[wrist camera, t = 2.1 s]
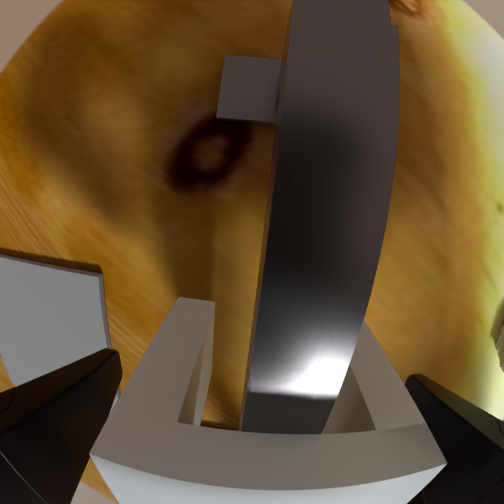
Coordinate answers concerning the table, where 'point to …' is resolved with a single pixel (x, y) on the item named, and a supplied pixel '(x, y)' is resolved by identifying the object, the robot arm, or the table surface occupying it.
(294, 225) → the stand
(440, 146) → the table surface
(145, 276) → the table surface
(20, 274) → the mat
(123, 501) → the c link
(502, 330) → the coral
